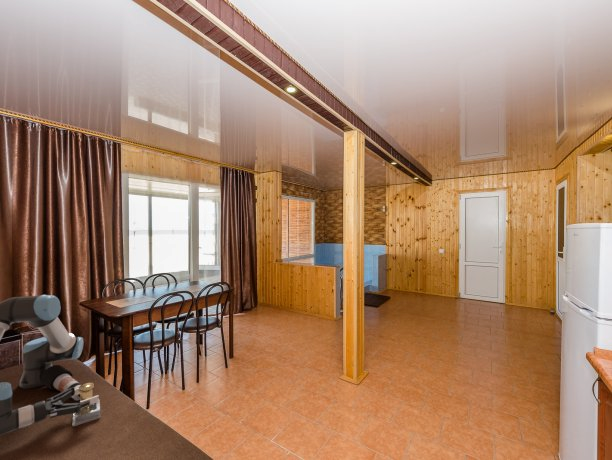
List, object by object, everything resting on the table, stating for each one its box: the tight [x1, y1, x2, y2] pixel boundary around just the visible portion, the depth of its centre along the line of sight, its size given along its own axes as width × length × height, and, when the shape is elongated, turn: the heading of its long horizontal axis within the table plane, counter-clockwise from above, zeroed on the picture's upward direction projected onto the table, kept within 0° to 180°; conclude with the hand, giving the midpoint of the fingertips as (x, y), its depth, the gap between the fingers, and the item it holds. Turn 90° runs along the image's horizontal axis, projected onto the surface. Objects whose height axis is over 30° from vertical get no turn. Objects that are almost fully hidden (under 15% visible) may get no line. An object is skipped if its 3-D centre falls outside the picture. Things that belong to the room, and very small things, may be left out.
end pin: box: [79, 382, 95, 414], centre depth 136 cm, size 6×6×13 cm
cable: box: [41, 364, 82, 401], centre depth 154 cm, size 10×34×10 cm, turn 63°
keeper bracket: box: [71, 399, 101, 427], centre depth 136 cm, size 11×10×4 cm
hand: (95, 392), depth 138 cm, fingers open, 13 cm apart
